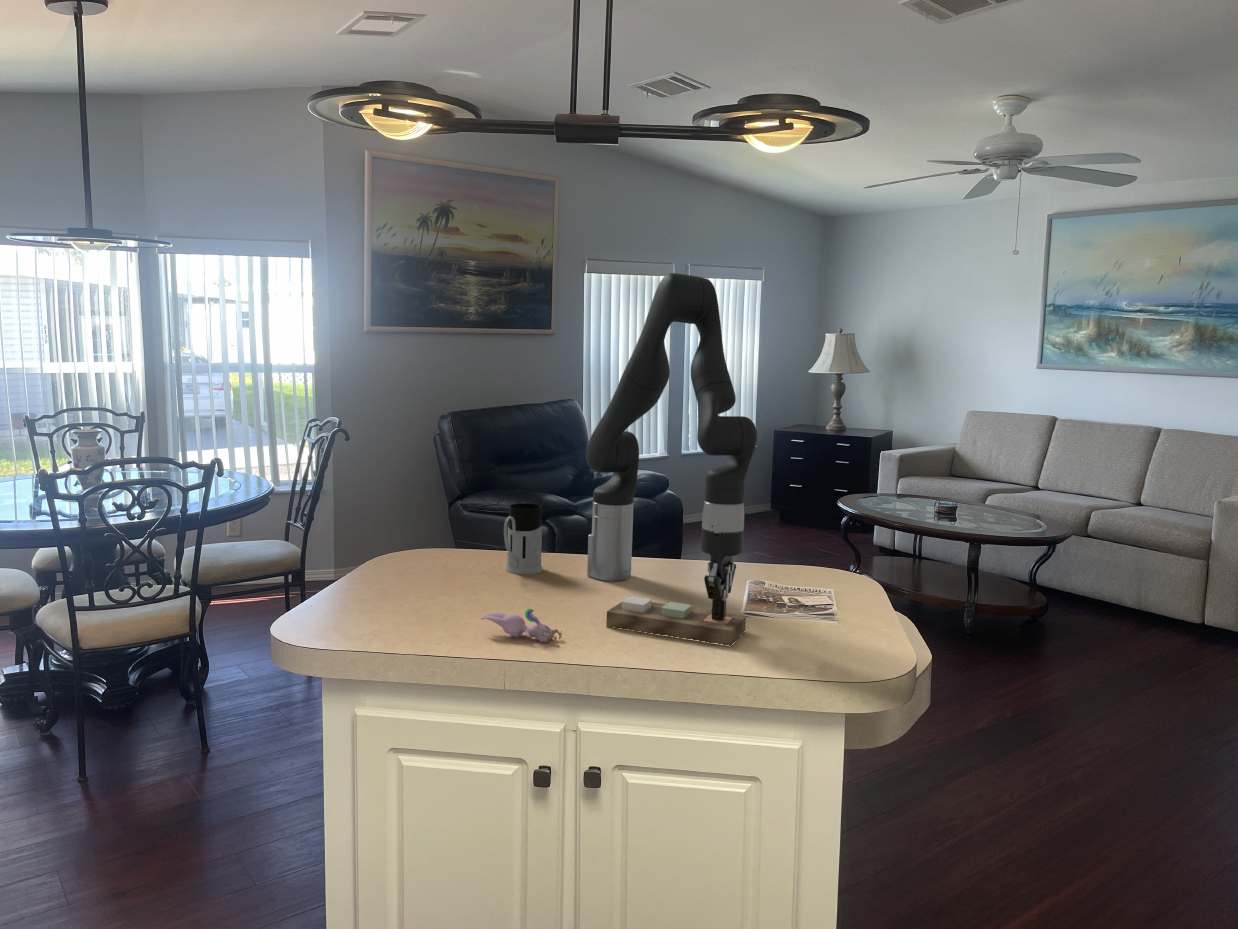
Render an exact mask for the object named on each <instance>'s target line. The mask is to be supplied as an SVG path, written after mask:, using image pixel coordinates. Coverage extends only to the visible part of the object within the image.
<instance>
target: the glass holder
mask: <svg viewBox="0 0 1238 929" xmlns="http://www.w3.org/2000/svg"><path fill="white" fill-rule="evenodd" d="M542 506H543V505H541V504H538V503H527V502H526V503H525V502H524V503H523V502H520V503H513V504H509V506H508V516H507V518H505V520H504V523H503V539H504V540H503V541H504V544H505V545H504V546H505V548H506V551H507V553H506V555H507V558H506V559H507V560H506V561H507V562H506V566H505V569H504V570H505V572H507V573H510V574H514V573H515V575H516V574H517V575H534V574H535V575H536V574H539V573H541V572H543V570H544V568H543V566H542V543H543V542H542V540H543V539H542V538H543V537H542V536H543V525H542V524H543V523H542V509H543V507H542Z"/></svg>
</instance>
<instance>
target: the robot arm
mask: <svg viewBox="0 0 1238 929" xmlns="http://www.w3.org/2000/svg"><path fill="white" fill-rule="evenodd" d="M720 316H721V315H720V307H719V301H718V295H717V290H716V288H715V286H714V284H713V283H712V281H711V280H709V279H708V278H705V277H702V276H698V275H697V276H695V275H691V274H690V275H689V274H683V273H677V272H676V273H675V272H672V273H671V272H670V273H667V274H665V275H664V276H663V277H662V279H661V280H660V281H659V283H658V285H657V287H656V289H655V292H654V295H653V298H652V300H651V304H650V307H649V309H648V312H647V316H646V318H645V322H644V325H643V328H642V330H641V333H640V335H639V337H638V339H637V342H636V344H635V347H634V350H633V351H632V354H631V355H630V358H629V359H628V362H627V364H626V365H625V369H623V370H624V371H623V372H622V374H621V376H620V380H619V381H618V385H617V387H616V390H615V391H614V394H613V395H612V397H611V399H610V402H609V404H608V406H607V408H606V410H605V411H604V413H603V415H602V416H601V418H600V420H599V422H598V423H597V425H596V427H595V428H594V430H593V432H592V434H591V436H590V438H589V440H588V443H587V446H586V452H585V455H586V456H585V458H586V464H587V466H588V468H589V469H591V470H592V471H593V472H596V473H600V474H601V473H603V474H607V473H608V474H609V473H611V474H612V476H611V478H610V479H608V480H607V482H606V481H605V483H603V484H602V485H601V484H600V485H599V486H597V487H595V489H594V490H593V493H592V520H591V521H592V522H591V533H590V534H588V537H587V539H588V540H587V544H588V545H587V571H586V573H587V574H586V576H587V577H590V578H594V579H596V580H600V581H608V582H611V581H612V582H613V581H614V582H617V581H624V580H628V578H629V579H630V578H631V576H632V557H633V556H632V554H633V552H632V550H633V528H634V527H633V525H634V523H633V522H634V499H635V495H636V491H637V487H638V486H637V484H638V472H639V461H640V447H639V446H640V444H639V441H638V439H637V437H636V435H635V434H634V433H633V432H632V431H627V429H628V428H629V427H630V426H631V425H632V424H634V423H635V422H636V421H638V420H639V419H640V418H642V417H644V415H646V414H647V413H648V412H649V411H650V410H652V408H653V407H654V406H655V405H656V404H657V403H658V402H659V400H660V398H661V396H662V394H663V392H664V390H665V388H666V387H667V384H668V382H669V380H670V375H671V370H670V363H669V359H668V358H669V357H668V353H667V350H666V345H665V344H666V343H665V339H666V335H667V333H668V331H669V329H670V326H671V324H672V323H674V322H676V323H682V324H689V325H694V326H695V327H696V329H697V331H698V335H699V343H698V346H697V348H696V349H695V350H696V351H695V353H694V356H693V359H692V361H691V365H690V379H691V384H692V387H693V391H694V395H695V398H696V401H697V433H696V436H697V438H696V439H697V444H698V446H699V448H700V449H701V451H702V452H703V453H705V455H708V456H716V457H717V456H729V457H728V459H727V461H726V463H725V464H723V465H722V466H719V467H716V468H712V469H709V470H708V471H707V473H706V475H705V484H704V504H703V509H702V518H701V539H700V540H701V543H700V544H701V545H700V549H701V551H702V553H704V554H708V555H709V556H710V561H709V562H708V563H707V572H708V575H706V574H705V575H704V579H703V580H704V585H705V586H704V587H705V589H706V593H707V597H708V599H710V600H711V601H712V602H711V603H712V604H711V611H712V619H713V620H719V621H722V620H723V619H725V616H726V613H727V612H726V611H727V600H728V598H729V594H731V592H732V588H733V587H732V586H733V582H734V578H735V573H736V569H737V564H736V563H735V562H733V556H738V555H740V554H742V553H743V551H744V550H743V549H744V548H743V546H744V534H745V533H744V532H745V531H744V528H745V509H744V508H745V507H744V505H745V504H744V502H745V500H744V499H745V481H746V477H747V475H748V471H749V467H750V464H751V461H752V458H753V456H754V452H755V449H756V445H757V442H758V432H757V427H756V425H755V423H754V422H753V420H752V419H751V418H750V417H747V416H742V415H741V416H738V415H736V416H735V415H733V416H732V415H731V416H730V415H729V416H728V415H727V416H725V415H724V416H723V415H722V416H720V414H723V413H726V412H727V411H730V410H731V409H732V408H733V407H734V405H736V400H737V399H736V398H737V397H736V393H735V390H734V386H733V383H732V382H733V381H732V379H731V376H730V372H729V370H728V369H729V368H728V365H727V363H726V359H725V351H724V346H723V345H724V344H723V343H724V342H723V333H722V323H721V317H720Z"/></svg>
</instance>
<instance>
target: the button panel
mask: <svg viewBox="0 0 1238 929" xmlns="http://www.w3.org/2000/svg"><path fill="white" fill-rule="evenodd" d="M666 604H667V603H660V602H654V601H652V606H651V608H650V609H649V610H648V611H646V612H645V613H641V612H635V611H628V610H622V601H621V602H619V603H618V604H616V605H614V606H613V607H611V608H610V609H608V610H607V611H606V622H605V623H606V624H605V626H606V628H609V627H615V628H614V629H616V628H622V629H629V630H634V631H641V632H647V633H653V634H660V635H668V636H673V637H679V638H686V639H693V640H699V641H705V642H709V643H718V644H723V645H729V646H731V645H732V644H733V643H734V642H735V641H736V640H737V639H738V638H739V637H740V635H742V636H743V634H744V633H745V632H746V626H747V625H746V624H747V623H746V621H747V616H746V615H742V614H737V613H736V614H735V613H729V612H726V616H725V617H732V618H733V621H732V622H731V623H730V624H728V625H720V624H713V623H707V622H703V620H704V619H705V618H706V617H707V616H708V615H710V614H711V615H712V610H707V609H701V608H693V607H692V610H691V615H689V616H688V617H687V618H686V619H681V618H674V617H667V616H661V613H662V607H663V606H665V605H666ZM622 629H621V630H622ZM634 631H633V632H634ZM744 631H745V632H744ZM743 632H744V633H743ZM647 633H646V634H647ZM742 633H743V634H742ZM653 634H652V635H653ZM740 638H741V637H740ZM740 638H739V639H740ZM739 639H738V640H739ZM738 640H737V641H738ZM737 641H736V642H737ZM736 642H735V643H736ZM709 643H708V644H709ZM735 643H734V644H735ZM734 644H733V645H734ZM733 645H732V646H733ZM732 646H731V647H732Z"/></svg>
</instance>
